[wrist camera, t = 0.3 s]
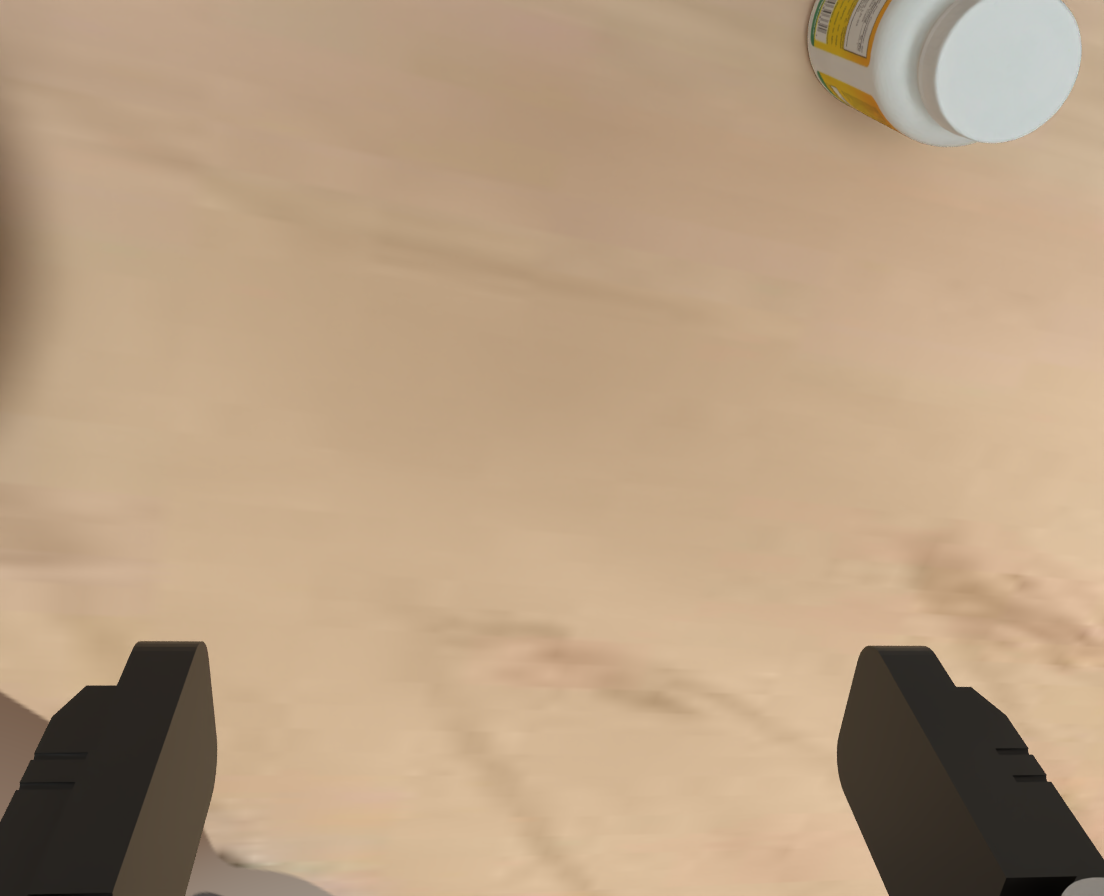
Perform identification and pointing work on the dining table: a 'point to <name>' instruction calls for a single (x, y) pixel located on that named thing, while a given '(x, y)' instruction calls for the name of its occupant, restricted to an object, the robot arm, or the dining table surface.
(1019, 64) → the supplement bottle
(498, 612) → the dining table surface
